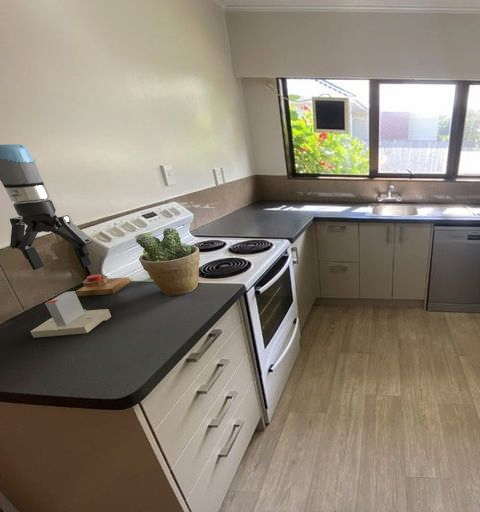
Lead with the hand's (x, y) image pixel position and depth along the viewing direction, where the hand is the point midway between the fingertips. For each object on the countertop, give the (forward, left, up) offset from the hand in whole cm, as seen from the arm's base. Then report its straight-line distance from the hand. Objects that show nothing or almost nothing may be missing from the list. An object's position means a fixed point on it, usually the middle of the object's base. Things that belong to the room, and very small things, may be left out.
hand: (63, 266), depth 92 cm
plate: (+4, -9, -17) cm, 20 cm away
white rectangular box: (+4, -9, -14) cm, 17 cm away
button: (-8, +19, -14) cm, 25 cm away
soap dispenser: (+11, +25, -17) cm, 32 cm away
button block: (-5, +18, -17) cm, 25 cm away
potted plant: (+25, +13, -17) cm, 33 cm away
